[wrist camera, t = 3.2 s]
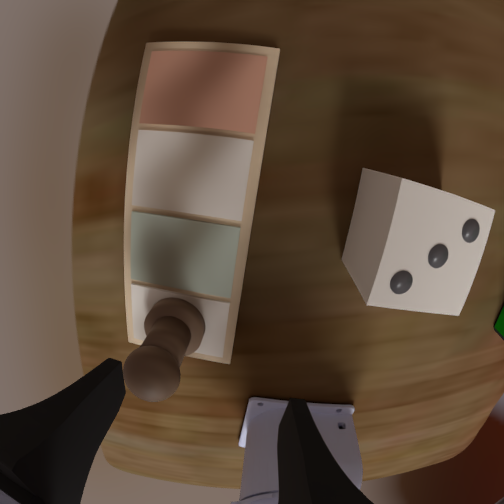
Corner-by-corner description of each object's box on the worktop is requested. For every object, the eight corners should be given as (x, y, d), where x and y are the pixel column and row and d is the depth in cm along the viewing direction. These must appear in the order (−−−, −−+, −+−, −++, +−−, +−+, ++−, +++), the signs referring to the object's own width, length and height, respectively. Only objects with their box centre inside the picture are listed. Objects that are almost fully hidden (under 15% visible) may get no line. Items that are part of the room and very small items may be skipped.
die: (440, 190, 17) (495, 210, 11) (417, 272, 19) (459, 316, 13) (362, 167, 17) (402, 178, 11) (341, 259, 19) (366, 305, 13)
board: (279, 53, 15) (280, 47, 13) (231, 355, 22) (229, 366, 21) (152, 47, 15) (145, 41, 14) (133, 334, 22) (127, 343, 21)
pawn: (207, 303, 19) (179, 376, 12) (203, 350, 20) (180, 424, 14) (149, 292, 19) (102, 355, 13) (150, 339, 20) (113, 405, 14)
